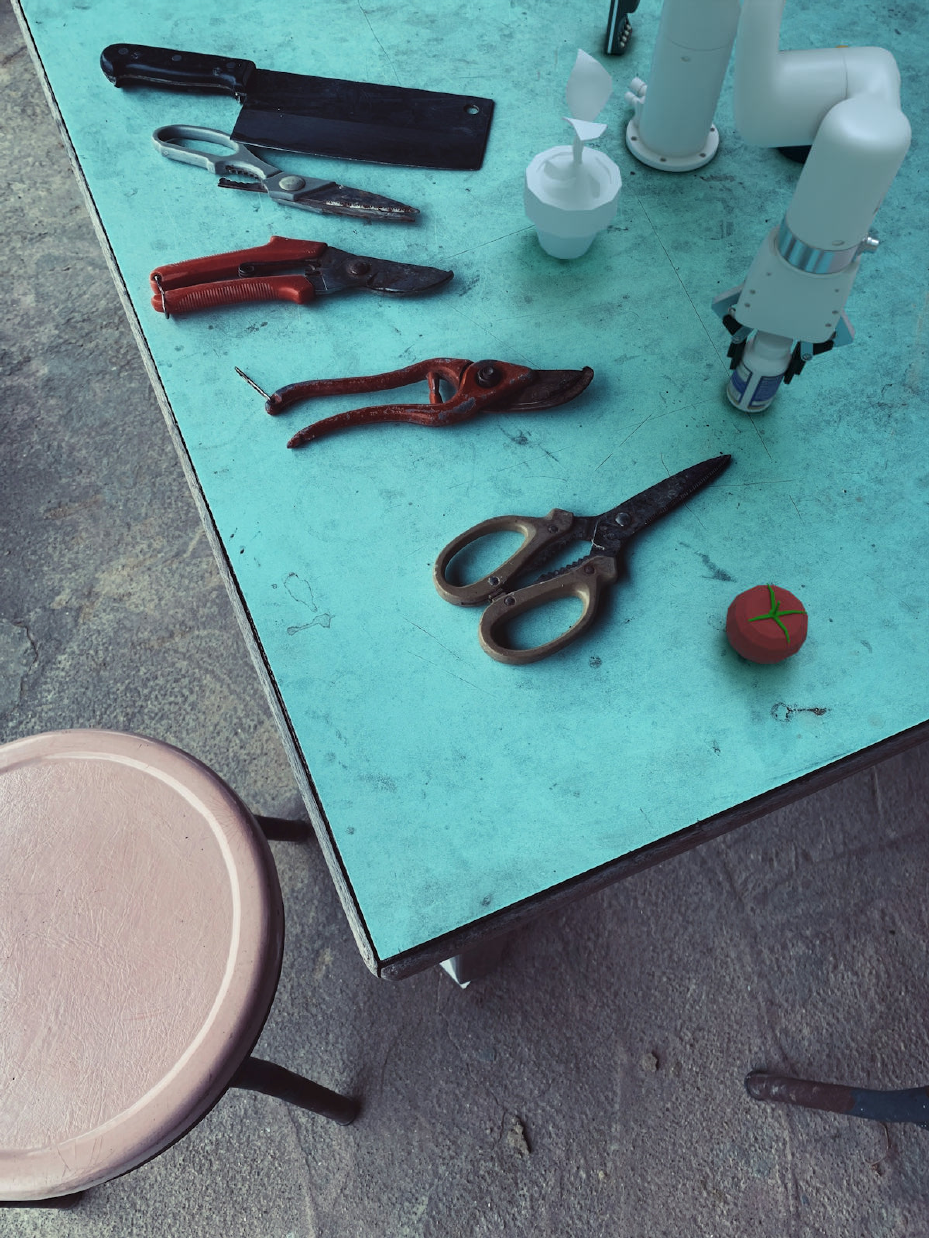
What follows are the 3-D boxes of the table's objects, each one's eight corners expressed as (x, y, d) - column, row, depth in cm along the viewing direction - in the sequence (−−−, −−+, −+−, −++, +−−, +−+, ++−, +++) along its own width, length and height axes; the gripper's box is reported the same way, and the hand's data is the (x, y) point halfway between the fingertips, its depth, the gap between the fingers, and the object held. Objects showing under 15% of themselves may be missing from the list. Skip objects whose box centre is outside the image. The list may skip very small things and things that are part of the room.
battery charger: (627, 59, 135) (642, -24, 125) (602, 54, 135) (614, -29, 125) (637, 31, 138) (653, -52, 128) (613, 26, 138) (626, -57, 128)
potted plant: (527, 205, 121) (544, 8, 99) (615, 218, 120) (652, 23, 98) (509, 274, 116) (523, 83, 93) (601, 289, 115) (638, 99, 92)
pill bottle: (777, 386, 108) (806, 327, 100) (764, 420, 106) (792, 362, 97) (733, 371, 109) (758, 310, 100) (719, 403, 107) (743, 345, 98)
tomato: (788, 604, 96) (814, 568, 89) (801, 673, 92) (829, 641, 86) (711, 605, 96) (731, 569, 89) (722, 674, 92) (744, 643, 85)
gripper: (915, 232, 88) (842, 362, 104) (736, 190, 90) (692, 324, 106) (906, 288, 85) (832, 413, 101) (721, 243, 87) (678, 373, 103)
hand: (761, 366), depth 103 cm, fingers closed on pill bottle, 5 cm apart
